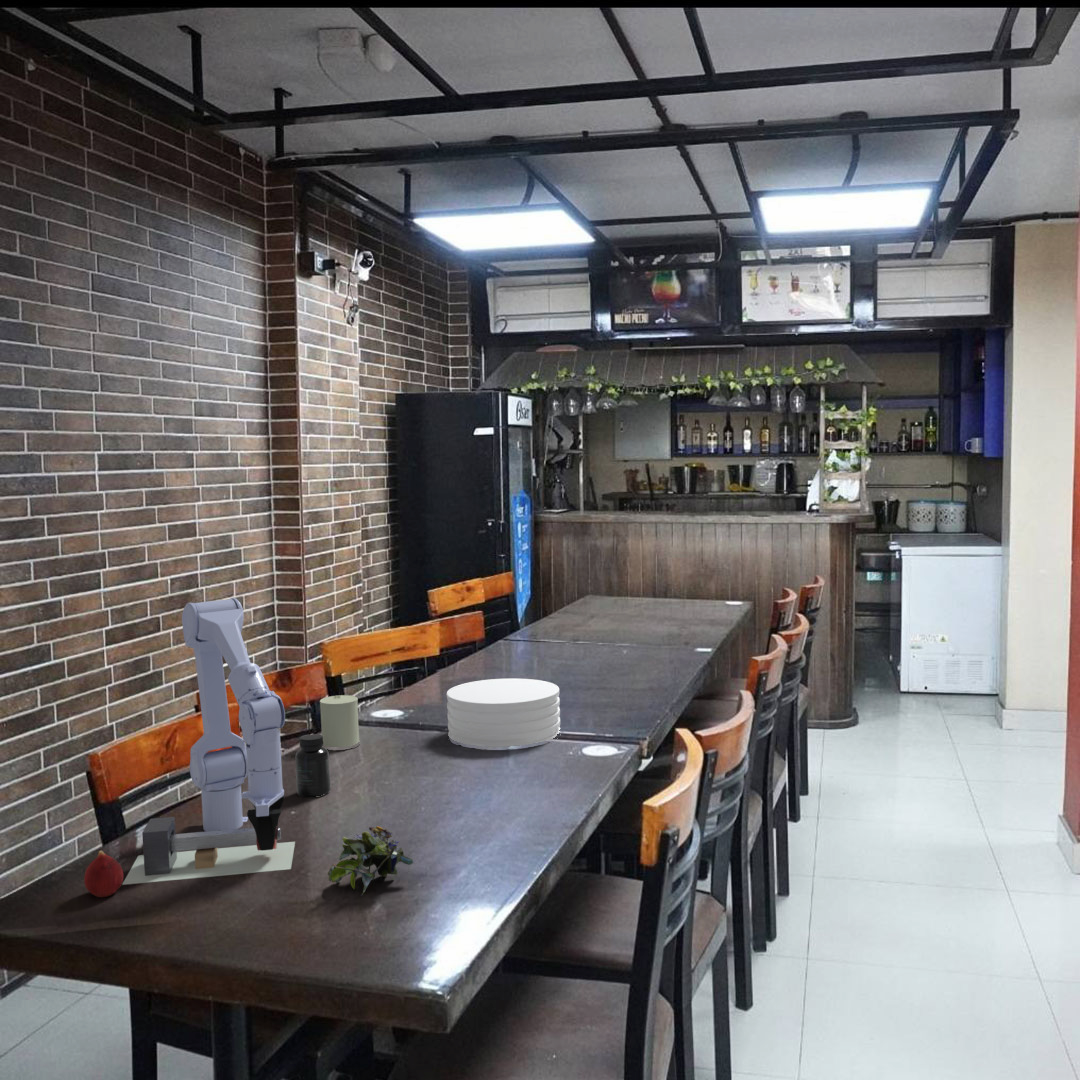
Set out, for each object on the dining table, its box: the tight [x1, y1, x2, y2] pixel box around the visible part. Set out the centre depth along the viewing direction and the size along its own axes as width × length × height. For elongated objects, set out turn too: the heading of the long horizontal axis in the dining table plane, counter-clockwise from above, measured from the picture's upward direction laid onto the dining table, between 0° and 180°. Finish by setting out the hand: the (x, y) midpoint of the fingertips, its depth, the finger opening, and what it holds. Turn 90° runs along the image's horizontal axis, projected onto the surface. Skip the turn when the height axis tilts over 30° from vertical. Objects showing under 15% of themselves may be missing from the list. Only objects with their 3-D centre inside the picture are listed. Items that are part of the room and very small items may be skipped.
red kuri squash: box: [83, 850, 124, 898], centre depth 169 cm, size 6×6×8 cm
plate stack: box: [446, 677, 561, 747], centre depth 262 cm, size 28×28×12 cm
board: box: [121, 841, 296, 886], centre depth 181 cm, size 13×27×1 cm, turn 100°
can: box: [319, 694, 360, 747], centre depth 257 cm, size 9×9×12 cm
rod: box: [170, 825, 282, 852], centre depth 181 cm, size 5×21×5 cm, turn 100°
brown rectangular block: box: [195, 847, 218, 869], centre depth 181 cm, size 5×3×2 cm, turn 10°
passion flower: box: [327, 826, 414, 897], centre depth 171 cm, size 11×11×12 cm
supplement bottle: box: [294, 733, 331, 798], centre depth 220 cm, size 7×7×12 cm
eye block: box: [142, 816, 178, 876], centre depth 180 cm, size 7×4×7 cm, turn 10°
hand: (268, 843), depth 183 cm, fingers closed on rod, 5 cm apart
